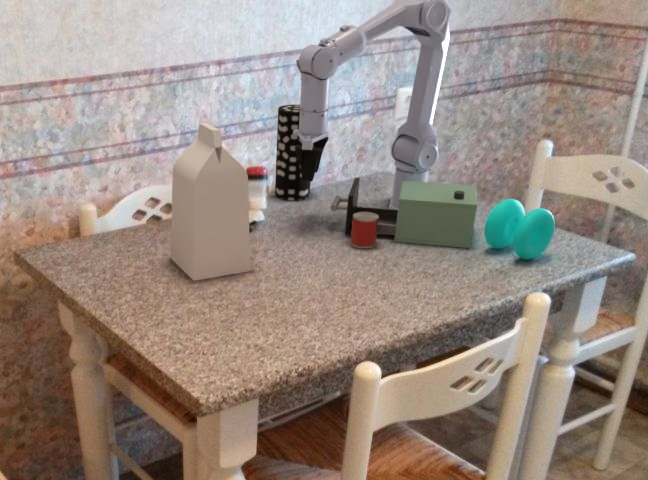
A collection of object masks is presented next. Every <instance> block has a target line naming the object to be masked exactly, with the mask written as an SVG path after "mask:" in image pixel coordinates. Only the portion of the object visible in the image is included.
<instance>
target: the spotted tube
mask: <svg viewBox="0 0 648 480" xmlns="http://www.w3.org/2000/svg"><path fill="white" fill-rule="evenodd" d="M277 110H278V111H277V128H276V129H277V130H276V131H277V132H276V133H277V134H276V154H275V155H276V157H275V180H274V182H275V183H274V196H275V197H276V198H277V199H280V200H284V201H304V200H307V199H308V198H310V197H311V183H312V181H303V180H302V175H301V168H300V162H299V159H298V156H297V154H296V152H295V146H296V145H302V140H301V139H300V138H299V136H298V135H293V131H294V130H299V119H300V104H284V105H281V106H279V107H278V108H277Z"/></svg>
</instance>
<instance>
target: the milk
mask: <svg viewBox="0 0 648 480" xmlns="http://www.w3.org/2000/svg"><path fill="white" fill-rule="evenodd" d="M233 155H234V152H233V150H232V149H230V147H229V146H227V145H226V144H225V143H224V142H222V136H221V131H220V129H219V128H217V127H215V126H214V125H211V124H210V123H208V122H201V123H199V124H198V130H197V137H196V138H195V139H194V141H192V142H191V144H189V145H188V147H186V149H185V150H184V151H183V152H182V153H181V154H179V156H178V158H177V159H176V160H175V161H174V163H173V166H172V181H171V182H172V184H171V186H172V187H171V221H170V222H171V223H170V224H171V225H170V228H171V229H170V260H171V261H173V262H174V264H175V265H176V266H178V267H179V268H180V269H181V270H182V272H184V273H185V274H186V275H187V276H188V277H189V278H190V279H191V280H192V281H194V282H196V281H201V280H207V279H214V278H218V277H224V276H231V275H236V274H241V273H242V274H243V273H249V272H251V245H250V244H251V243H250V241H251V239H250V202H249V201H250V199H249V175H248V172H247V171H246V169H245V168H244V166H243V165H242V164H241V163H240V162H239V161H238V160H236V159H235V158H234V157H233Z"/></svg>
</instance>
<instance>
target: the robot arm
mask: <svg viewBox="0 0 648 480" xmlns="http://www.w3.org/2000/svg"><path fill="white" fill-rule="evenodd" d="M451 13H452V9H451V7H450V5H448V3H447V2H446V0H394V1H393V2H392V3H391V4H390V5H389V6H388V7H386V8H384V9H383V10H381V11H380V12H378V13H377V14H376V15H374V16H372V17H370V19H368V20H366V21H364V22H363V23H362V24H360V25H359V26H356V25H354V24H353V25H352V24H349V25H348V24H343V25H341V26H339V31H337V32H335V33H333V34H332V35H330V36H329V37H322V38H321V39H319V41H320V42H319V43H318V44H314V43H313V44H308V45H306V46H305V47H304V48H303V49H302V50H301V52H300V54H299V56H298V59H296V61H295V63H296V68H297V70H298V71H299V73H300V82H301V83H300V102H299V105H300V119H299V130H294V131H293V135H298V136H299V138H300V139H301V140H302V145H296V146H295V152H296V154H297V156H298V159H299V162H300V168H301V175H302V180H303V181H311V182H313V181H314V178H315V175H316V173H318V170H319V167H320V164H321V159H322V155H323V152H324V149H325V147H326V145H327V143H328V141H329V135H328V134H329V132H328V122H329V121H328V120H329V106H330V105H329V104H330V92H331V80H332V79H331V78H332V77H333V76H334V75H335V74H336V72H337V70H338V68H339V67H341V65H343V64H346V63H347V62H349V61H350V60H352V59H353V58H355V57H357V56H358V55H360V54H362V53H363V52H364V50H365V48H366V44H367V43H369V42H371V41H373V40H374V39H377V38H378V37H380V36H382V35H384V34H386V33H388V32H391V31H392V30H394V29H396V28H399V27H402V28H404V29H406V30H407V31H409V32H410V33H412V35H414V37H415V38H416V40H417V41H418V43H419V44H420V49H419V54H418V60H417V64H416V65H417V66H416V70H415V76H414V80H413V86H412V91H411V95H410V96H411V97H410V101H409V107H408V112H407V117H406V121H405V122H404V123H403V124H402V125H400V126H399V127H398V128H397V133H396V136H395V137H394V139H393V141H392V143H391V146H390V155H391V157H392V159H393V160H394V166H395V171H394V172H395V173H394V181H393V182H394V183H393V188H392V195H391V197H390V201H389V205H388V209H398V205H399V198H400V193H401V188H402V183H403V181H416V182H428V180H429V179H428V178H429V177H428V176H429V172H430V171H431V170H432V168H433V167H434V166H435V165H436V163H437V161H438V159H439V147H438V144H439V134H438V133H437V131H436V130H435V128H434V126H433V123H434V117H435V112H436V107H437V103H438V98H439V93H440V89H441V83H442V78H443V74H444V70H445V65H446V64H445V63H446V59H447V54H448V49H449V45H450V39H451V33H450V32H451V31H450V20H451V19H450V18H451Z"/></svg>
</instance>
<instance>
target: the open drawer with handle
mask: <svg viewBox="0 0 648 480" xmlns="http://www.w3.org/2000/svg"><path fill="white" fill-rule="evenodd" d="M360 180H361V178H360V177H354V180H353V182H352V184H351V188H350V191H349V193H348V195H347V197H341V196H340V195H336V196H335V197H334V199H333V201H332V202H331V206H330V210H331V211H332V212H336V211H338V210H341V211H346V219H345V229H344V230H345V231H344V235H345V236H351V234H352V223H353V214H354V213H357V212H371V213H375V214H377V215H378V216H379V219H378V226H377V235H386V236H387V235H388V236H395V230H396V222H397V213H398V209H389V208H386V207H373V206H359V205H358V201H359V190H360V182H361V181H360ZM340 203H347V205H340Z"/></svg>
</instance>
